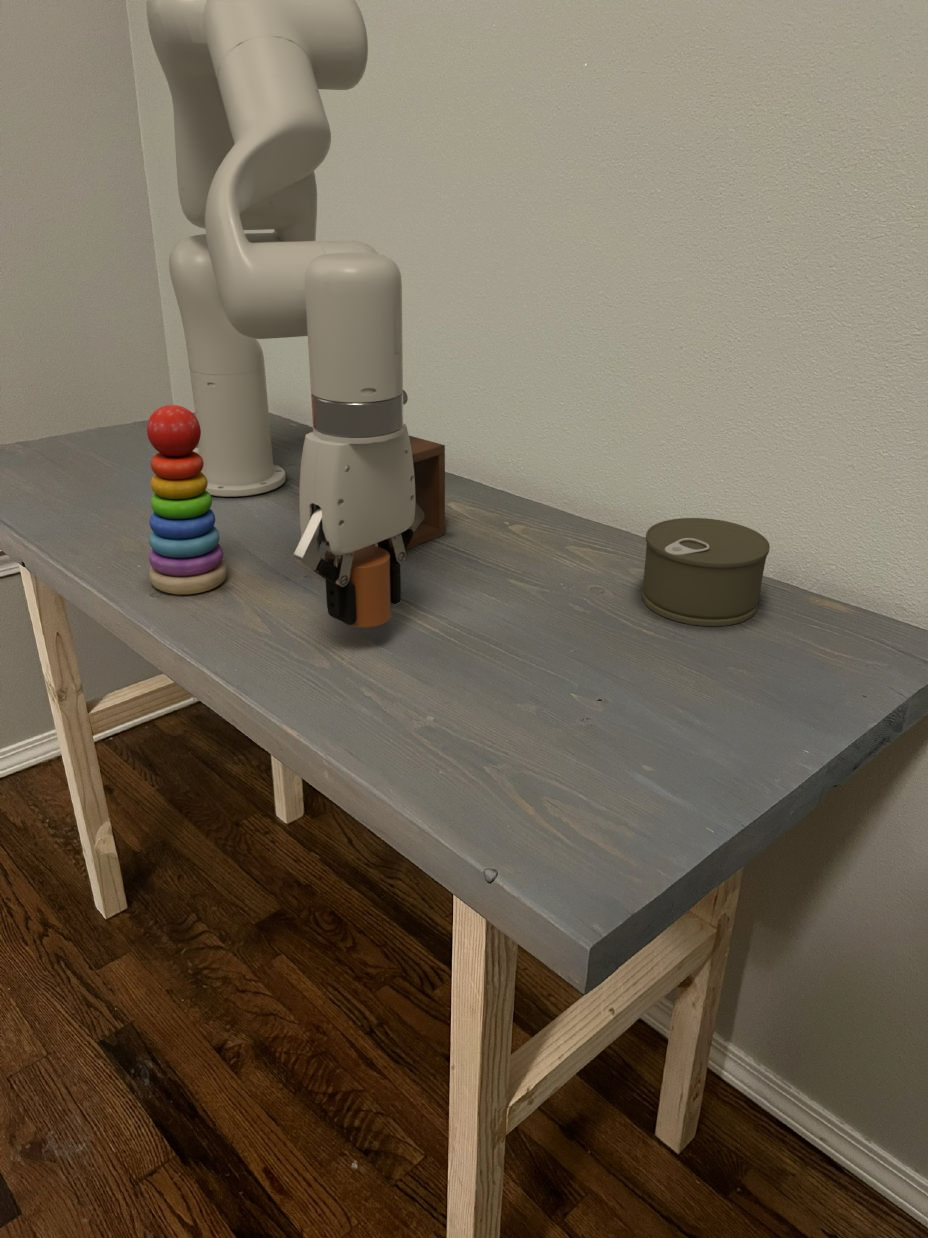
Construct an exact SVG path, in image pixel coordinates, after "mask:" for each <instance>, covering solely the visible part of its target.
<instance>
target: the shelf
mask: <svg viewBox="0 0 928 1238" xmlns="http://www.w3.org/2000/svg"><path fill="white" fill-rule="evenodd" d="M409 439H410V445H411V451H412V458H413V466H414V478H415V502H416V503H417V504H418V506H419V507H420V508H421V510H422V511H423V512H424V519H423V520H422V522H421V523H420V525H419V526H418V528H417V529H416V530H415V532H413V537H412V539H411V541H410V543H409V544H408V546H407V548H406V549H405V551H407V550H409V549H411V548H414V547H417V546H419V545H422V544H424V543H427V542H430V541H431V540H435V539H437V538H440V537H443V536H444V535H446V445H445V444H442V443H438V442H435V441H431V440H427V439H424V438H420V437H418V436H413V435H409ZM370 546H375V544H373V545H370Z"/></svg>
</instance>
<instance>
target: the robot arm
mask: <svg viewBox="0 0 928 1238" xmlns="http://www.w3.org/2000/svg"><path fill="white" fill-rule="evenodd" d="M146 19H147V25H148V31H149V36H150V40H151V43H152V46H153V49H154V52H155V55H156V57H157V59H158V62H159V65H160V67H161V69H162V71H163V75H164V76H165V79H166V82H167V84H168V88H169V91H170V96H171V100H172V108H173V125H174V127H173V129H174V146H175V162H176V163H175V164H176V177H177V178H176V179H177V189H178V190H177V191H178V197H179V203H180V207H181V210H182V213H183V215H184V217H185V218H186V219H187V220H188V222H190V223H191V224H192V225H193V226H195V227H198V228H200V229H205V233H201V234H195V235H191V236H188V237H185V238H183V239H181V240H179V241H178V242H177V243H176V244H175V245H174V246H173V248H172V249H171V251H170V254H169V258H168V259H169V260H168V266H169V267H168V268H169V274H170V275H169V276H170V279H171V284H172V288H173V292H174V295H175V298H176V303H177V306H178V309H179V314H180V318H181V322H182V328H183V333H184V338H185V343H186V344H185V345H186V354H187V359H188V368H189V374H190V383H191V391H192V400H193V407H194V415H195V417H196V418H197V420H198V422H199V425H200V429H201V436H200V440H199V443H198V446H197V447H196V448H195V449H194V450H193V451H194V452H196V453H198V454H199V455H200V456H201V457H202V459H203V463H204V465H203V469H202V471H201V472H202V473H203V474H204V475H205V476H206V478H207V481H208V484H207V488H206V491H208V492H209V493H210V495H211V496H213V497H215V496H216V497H225V498H227V497H228V498H229V497H231V498H232V497H249V496H256V495H261V494H264V493H268V492H271V491H274V490H276V489H278V488H279V487H281V486H282V485H284V484H285V482H286V480H287V479H286V470H285V469H283V468H282V467H281V466H279V465H278V464H274V458H273V446H272V436H271V425H270V422H271V421H270V412H269V411H270V410H269V400H268V391H267V390H268V388H267V377H266V376H267V375H266V366H265V355H264V352H263V348H262V346H261V343H260V342H259V340H267V339H269V340H270V339H285V338H299V337H307V347H308V349H307V350H308V363H309V364H308V365H309V366H308V367H309V379H310V380H309V381H310V397H311V415H312V431H311V432H308V433H306V434H305V436H304V442H303V446H302V452H301V453H302V454H301V460H300V470H299V471H300V472H299V497H298V498H299V500H298V501H299V502H298V504H299V530H300V537H301V538H300V540H299V542H298V544H297V546H296V547H295V550H294V552H293V555H292V559H293V561H295V563H297V564H298V563H299V564H301V565H302V566H304V567H306V568H309V569H310V570H311V571H312V572H315V573H316V574H317V575H318V576H319V577H320V578H321V579H324V581H325V591H326V592H325V595H326V596H325V597H326V608H327V613H328V615H329V616H330V617H332V618H333V619H336V620H338V621H339V622H342V623H343V622H344V623H343V624H345V623H346V624H345V625H347V624H348V625H347V626H350V625H352V624H354V623H355V622H356V597H355V585H354V584H353V583H351V582H349V579H350V573H351V567H352V561H353V555H354V551H357V550H360V549H362V548H365V547H368V546H370V545H373V544H375V546H376V547H380V548H383V549H385V550H386V551H388V552H389V554H390V582H391V605H397V604H400V603H401V601H402V582H401V581H402V580H401V579H402V578H401V577H402V575H401V564H402V563H403V562H405V560H406V557H407V552H406V550H405V549H406V548H407V546H408V544H409V543H410V541H411V539H412V537H413V532H415V530H416V529H417V528H418V526H419V525H420V523H421V522H422V520H423V519H424V512H423V511H422V510H421V508H420V507H419V506H418V504H417V503H416V502H415V478H414V466H413V458H412V451H411V445H410V439H409V436H410V435H409V431H408V426H407V424H405V423H404V405H406V404H407V403H408V400H409V399H408V398H409V397H408V394H407V392H406V390H404V383H403V382H404V370H403V369H404V367H403V365H404V363H403V358H404V357H403V283H402V282H403V281H402V273H401V270H400V267H399V266H398V265H397V263H396V261H394V260H393V258H390V257H388V256H385V255H382V254H379V253H378V251H377V250H376V249H375V248H374V247H372V246H371V245H369V244H368V243H366V242H362V241H358V240H357V241H356V240H329V241H328V240H325V241H324V240H322V241H321V240H320V241H316V240H317V220H318V185H317V179H316V173H315V170H317V169H318V168H319V167H320V166H321V164H322V163H323V162H324V161H325V159H326V157H327V155H328V153H329V151H330V148H331V143H332V132H331V126H330V123H329V120H328V117H327V113H326V111H325V107H324V103H323V99H322V98H321V94H320V90H327V91H329V90H330V91H348V90H352V89H353V88H355V87H356V86H358V84H359V83H360V82H361V80H362V78H363V77H364V74H365V72H366V69H367V63H368V55H369V42H368V33H367V27H366V24H365V20H364V16H363V14H362V11H361V9H360V7H359V5H358V3H357V1H356V0H146ZM264 230H274V231H273V232H254V233H253V232H251V233H249V232H248V233H247V232H246V233H245V231H264ZM321 545H322V548H321ZM320 548H321V553H320V555H319V553H318V552H319V550H320ZM336 555H337V556H339V559H338V565H337V567H336V565H335V562H336Z"/></svg>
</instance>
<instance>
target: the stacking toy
mask: <svg viewBox="0 0 928 1238" xmlns="http://www.w3.org/2000/svg"><path fill="white" fill-rule="evenodd" d="M146 434H147V438H148V441H149V443H150V444H151V446H152V448H153V449H154V450H155V451H156V452H157V453H155V454H154V455H153V456H152V457H151V460H150V468H151V471H152V472H153V474H154V475H153V476H152V477H151V479H150V489H151V490H152V492H153V493H154V494H153V495H152V496H151V499H150V507H151V510H152V511H153V513H151V515H150V517H149V521H148V522H149V523H148V524H149V528H150V530H151V533H150V535H149V539H148V541H149V542H148V543H149V546H150V548H151V549H150V551H149V554H148V562H149V564H150V566H151V567H150V569H149V572H148V580H149V582H150V583H151V585H152V586H153V587H154V589H157V590H159V591H160V592H163V593H165V594H166V593H167V594H171V595H196V594H200V593H204V592H207V591H210V590H213V589H215V588H217V587H218V586H220V585H221V584H222V583H223V582H224V581H225V579H226V578H227V574H228V569H227V565H226V563H225V562H224V560H223V559H224V549H223V548H222V546H221V544H220V539H221V538H220V532H219V530H218V529H217V527H216V526H215V524H216V515H215V512H214V511H213V510H212V508H211V507H212V505H213V498H212V497H213V496H212V495H210V493H209V492H208V491H206V488H207V484H208V481H207V478H206V476H205V475H204V474H203V473H202V472H201V471H202V469H203V465H204V463H203V459H202V457H201V456H200V455H199V454H198V453H196V452H194V451H193V450H194V449H195V448H197V447H198V446H199V440H200V436H201V429H200V425H199V422H198V420H197V418H196V416H195V413H193V411H191V410H190V409H188V408H186V407H184V406H181V405H178V404H177V405H176V404H169V405H168V404H167V405H163V406H160V407H159V408H158V409H157V408H156V409H155V410H154V411H153V412H152V413H151V415H149V418H148V420H147V424H146Z"/></svg>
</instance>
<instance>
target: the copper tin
mask: <svg viewBox="0 0 928 1238" xmlns="http://www.w3.org/2000/svg"><path fill="white" fill-rule="evenodd" d="M338 559H339V556H337V555H335V564H336V565H335V566H336V567H337V565H338ZM349 582H351V583H353V584H354V585H355V597H356V622H355V623H354V624H352V625H348V624H346V623H344V622H342V623H343V624H344V625H346V626H350V627H354V628H372V627H377V626H381V625H383V624H385V623H386V622H388V621H389V620H390V619H391V617H392V603H391V582H390V554H389V552H388V551H386V550H385V549H383V548H380V547H376V546H368V547H365V548H362V549H360V550H357V551H354V555H353V561H352V567H351V573H350V579H349Z"/></svg>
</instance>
